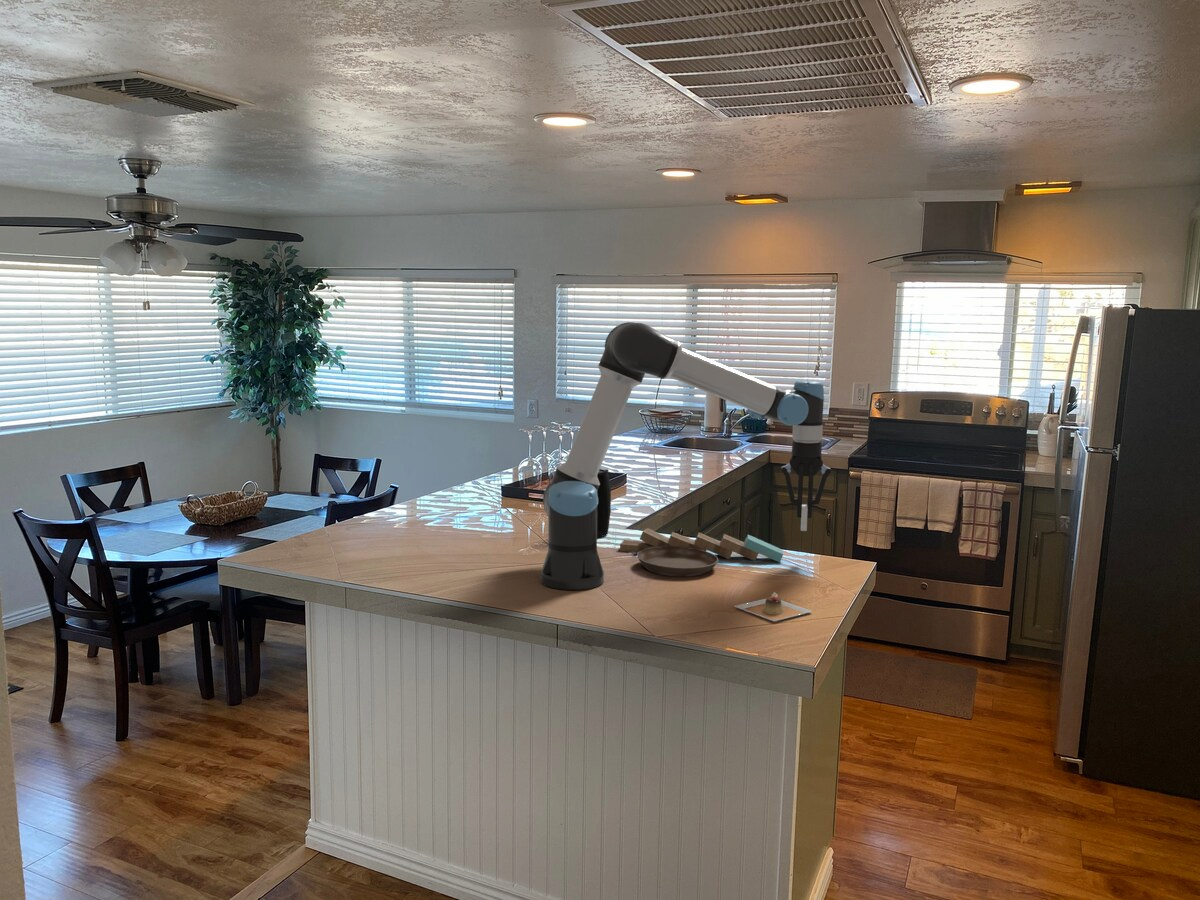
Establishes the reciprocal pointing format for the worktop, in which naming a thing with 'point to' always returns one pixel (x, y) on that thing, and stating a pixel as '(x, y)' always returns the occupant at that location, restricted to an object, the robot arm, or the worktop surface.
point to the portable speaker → (603, 502)
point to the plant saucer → (677, 561)
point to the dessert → (773, 607)
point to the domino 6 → (763, 548)
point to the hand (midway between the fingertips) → (803, 529)
